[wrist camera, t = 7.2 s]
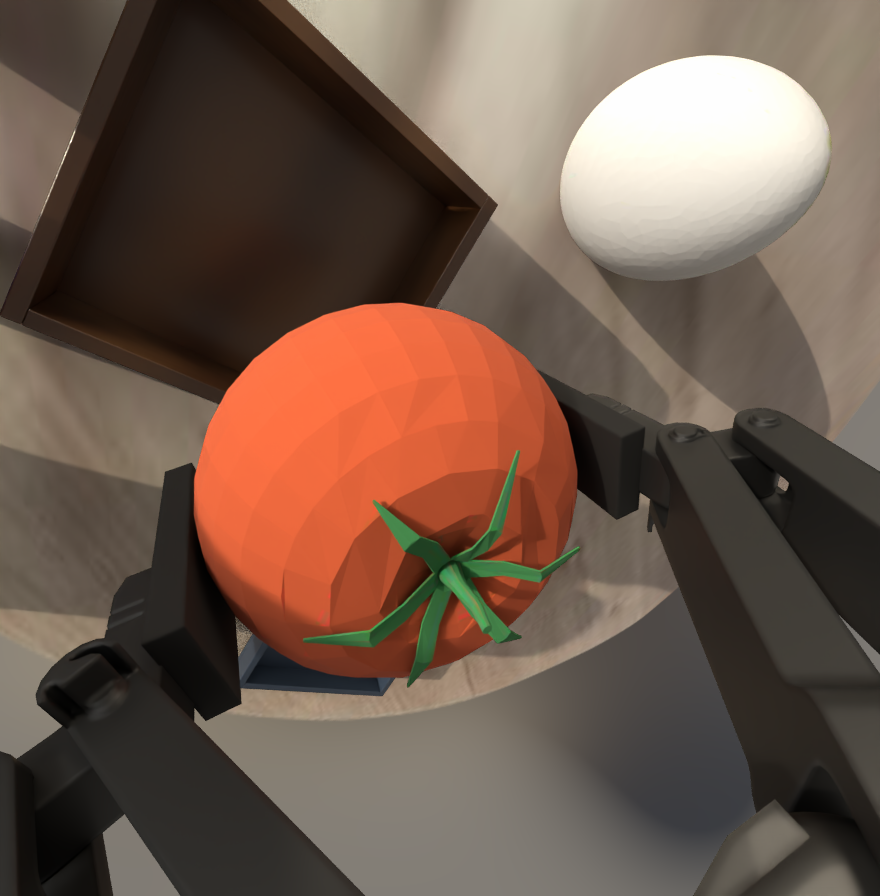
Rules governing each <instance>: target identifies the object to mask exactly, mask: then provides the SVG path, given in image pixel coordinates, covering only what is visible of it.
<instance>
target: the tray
mask: <svg viewBox="0 0 880 896" xmlns="http://www.w3.org/2000/svg"><path fill="white" fill-rule="evenodd" d="M238 662H239V676H240V688H246V689H264V690H281V691H299V692H316V693H334V694H351V695H369V696H383V695H384V693H385V692H386V690H387V689H388V688H389V686H390V685H391V683H392V682H393V680H394V679H395V678H354V677H346V676H339V675H332V674H328V673H324V672H321V671H317V670H314V669H310V668H307V667H304V666H302V665H300V664H298V663H296V662H295V661H293V660H291V659H289V658H287V657H286V656H284V655H282V654H280V653H279V652H277V651H276V650H274V649H273V648H271V647H270V646H268V645H267V644H265V643H264V642H263V641H261V640H260V639H258V638H257V637H256V636H255V635H254V634H252V636H251V637H250V639H249V641H248V642H247V644H246V646H245V647H244V649H243V651H242V652H241V654H240V656H239V657H238Z"/></svg>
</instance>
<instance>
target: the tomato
mask: <svg viewBox="0 0 880 896" xmlns="http://www.w3.org/2000/svg"><path fill="white" fill-rule="evenodd" d="M576 498H577V466H576V461H575V456H574V451H573V446H572V442H571V437H570V433H569V429H568V424H567V421H566V419H565V417H564V415H563V413H562V411H561V409H560V406H559V404H558V402H557V400H556V398H555V396H554V395H553V393H552V392H551V390H550V388H549V387H548V385H547V384H546V382H545V380H544V379H543V378H542V376H541V375H540V374H539V373H538V372H537V370H536V369H535V368H534V367H533V365H532V364H531V363H530V362H529V360H528V359H527V358H526V357H525V356H524V355H523V354H521V353H520V352H519V351H517V350H516V349H515V348H513V347H512V346H511V345H509V344H508V343H507V342H505V341H504V340H503V339H501V338H500V337H499V336H497V335H496V334H495V333H493V332H492V331H491V330H489V329H488V328H487V327H485V326H484V325H482V324H479V323H477V322H475V321H472V320H470V319H467V318H465V317H463V316H460V315H458V314H455V313H453V312H449V311H445V310H440V309H435V308H429V307H423V306H417V305H411V304H405V303H387V304H366V305H360V306H356V307H353V308H349V309H345V310H341V311H337V312H333V313H329V314H326V315H323V316H321V317H319V318H317V319H315V320H313V321H311V322H309V323H307V324H305V325H303V326H301V327H299V328H297V329H295V330H293V331H290V332H288V333H287V334H286V335H284V336H283V337H282V338H280V339H279V340H278V341H276V342H275V343H274V344H273V345H271V346H270V347H269V348H267V349H266V350H265V351H263V352H262V353H261V354H260V355H258V356H257V357H256V358H254V359H253V361H252V362H251V363H250V364H249V365H248V366H247V368H246V369H245V370H244V371H243V372H242V373H241V375H240V376H239V377H238V378H237V379H236V380H235V382H234V383H233V384H232V385H231V386H230V387H229V389H228V390H227V392H226V394H225V395H224V397H223V399H222V401H221V403H220V405H219V407H218V408H217V410H216V412H215V414H214V416H213V418H212V420H211V422H210V423H209V426H208V429H207V433H206V436H205V440H204V444H203V447H202V451H201V455H200V458H199V462H198V466H197V470H196V473H195V477H194V517H195V523H196V528H197V533H198V538H199V541H200V545H201V549H202V553H203V557H204V561H205V564H206V568H207V571H208V573H209V574H210V576H211V578H212V579H213V581H214V583H215V584H216V586H217V588H218V590H219V591H220V593H221V595H222V596H223V598H224V600H225V601H226V602H227V604H228V605H229V607H230V608H231V610H232V611H233V613H234V614H235V616H236V617H237V619H239V620H240V621H241V622H242V623H243V624H244V625H245V626H246V627H247V628H248V629H249V630H250V631H251V632H252V633H253V634H254V635H255V636H256V637H257V638H258V639H260V640H261V641H263V642H264V643H265V644H267V645H268V646H270V647H271V648H273V649H274V650H276V651H277V652H279V653H280V654H282V655H284V656H286V657H287V658H289V659H291V660H293V661H295V662H296V663H298V664H300V665H302V666H304V667H307V668H310V669H314V670H317V671H321V672H324V673H328V674H332V675H339V676H346V677H354V678H403V677H406V676H409V675H410V677H409V680H408V683H407V688H408V687H410V685H411V684H412V683H413V682H414V681H415V680H416V679H417V678H418V677H419V675H420V674H421V673H422V672H423V671H426V670H429V669H432V668H436V667H439V666H442V665H446V664H449V663H452V662H454V661H457V660H459V659H461V658H462V657H464V656H466V655H468V654H469V653H471V652H473V651H474V650H476V649H478V648H479V647H481V646H483V645H485V644H486V643H488V642H490V641H491V640H493V639H494V640H495V641H496V643H497V644H498V643H503V642H507V641H512V640H516V639H520V638H522V636H521V635H518V634H516V633H514V632H513V631H511V630H509V628H508V626H509V625H510V624H512V623H513V622H514V621H515V620H516V619H517V618H518V617H519V616H520V615H521V614H522V613H523V612H524V611H525V610H526V609H527V608H528V607H529V606H530V605H531V604H532V602H533V601H534V600H535V598H536V597H537V596H538V594H539V593H540V592H541V590H542V589H543V588H544V586H545V585H546V584H547V582H548V580H549V578H550V576H551V574H552V572H554V571H555V570H556V569H557V568H559V567H560V566H561V565H562V564H563V563H565V562H566V561H567V560H568V559H570V558H571V557H572V556H573V555H575V554H576V553H577V552H578V551H579V550H580V547H579V546H578V547H576V548H575V549H573V550H571V551H570V552H568V553H567V554H565V555H563V556H562V557H560V555H561V553H562V551H563V549H564V547H565V545H566V543H567V540H568V537H569V532H570V527H571V522H572V517H573V512H574V507H575V503H576ZM559 557H560V558H559Z"/></svg>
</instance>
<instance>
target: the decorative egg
mask: <svg viewBox="0 0 880 896" xmlns="http://www.w3.org/2000/svg"><path fill="white" fill-rule="evenodd" d="M831 151H832V146H831V137H830V132H829V128H828V125H827V122H826V120H825V118H824V116H823V114H822V112H821V110H820V108H819V107H818V105H817V104H816V102H815V101H814V100H813V99H812V97H811V96H810V95H809V94H808V93H807V92H806V91H805V90H804V89H803V88H802V87H801V85H799V84H798V83H797V82H796V81H794V80H793V79H791V78H790V77H789V76H787V75H786V74H784V73H783V72H781V71H779V70H777V69H775V68H773V67H770V66H767V65H765V64H762V63H759V62H756V61H753V60H749V59H744V58H738V57H733V56H712V55H709V56H697V57H690V58H684V59H679V60H675V61H671V62H668V63H665V64H662V65H659V66H656V67H654V68H651V69H649V70H647V71H644V72H642V73H641V74H639V75H637V76H635V77H633V78H631V79H630V80H628V81H627V82H625V83H624V84H623V85H621V86H620V87H618V88H617V89H615V90H614V91H613V92H612V93H610V94H609V95H608V96H607V97H606V98H605V99H604V100H603V101H602V102H601V103H600V104H599V105H598V106H597V107H596V108H595V109H594V110H593V111H592V113H591V114H590V115H589V116H588V118H587V119H586V120H585V122H584V123H583V125H582V126H581V128H580V129H579V131H578V132H577V134H576V136H575V138H574V140H573V142H572V144H571V146H570V148H569V151H568V154H567V157H566V159H565V162H564V166H563V170H562V176H561V184H560V201H561V208H562V213H563V217H564V220H565V223H566V226H567V228H568V230H569V233H570V235H571V237H572V238H573V240H574V241H575V243H576V244H577V245H578V247H579V248H580V249H581V250H582V252H583V253H584V254H586V255H587V256H588V257H589V258H590V259H591V260H592V261H594V262H595V263H596V264H598V265H600V266H601V267H603V268H605V269H607V270H609V271H611V272H614V273H616V274H619V275H622V276H625V277H629V278H634V279H640V280H648V281H669V280H681V279H688V278H693V277H698V276H702V275H705V274H709V273H712V272H716V271H719V270H721V269H724V268H727V267H729V266H732V265H734V264H736V263H738V262H740V261H742V260H744V259H746V258H748V257H750V256H752V255H754V254H756V253H757V252H759V251H760V250H762V249H764V248H765V247H767V246H768V245H770V244H771V243H772V242H774V241H775V240H777V239H778V238H779V237H781V236H782V235H783V234H784V233H785V232H787V231H788V230H789V229H790V228H791V227H792V226H793V225H795V224H796V223H797V221H798V220H799V219H800V218H801V217H802V216H803V215H804V214H805V213H806V212H807V210H808V209H809V208H810V207H811V205H812V204H813V202H814V201H815V199H816V198H817V196H818V195H819V193H820V191H821V189H822V187H823V185H824V183H825V180H826V177H827V174H828V172H829V168H830V162H831Z"/></svg>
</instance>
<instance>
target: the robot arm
mask: <svg viewBox="0 0 880 896" xmlns="http://www.w3.org/2000/svg"><path fill="white" fill-rule="evenodd" d="M536 370H537V369H536ZM537 372H538V373H539V374H540V375H541V376H542V378H543V379H544V380H545V382H546V384H547V385H548V387H549V388H550V390H551V392H552V393H553V395H554V396H555V398H556V400H557V402H558V404H559V406H560V409H561V411H562V413H563V415H564V417H565V419H566V421H567V424H568V429H569V433H570V437H571V442H572V446H573V451H574V456H575V461H576V466H577V489H578V490H580V491H581V492H582V493H583V494H585V495H586V496H587V497H588V498H590V499H591V500H592V501H594V502H595V503H596V504H597V505H599V506H600V507H601V508H602V509H604V510H605V511H606V512H607V513H609V514H610V515H611V516H612V517H614V518H615V519H616V520H618V519H620V518H622V517H624V516H626V515H628V514H630V513H632V512H634V511H636V510H638V506H639V495H640V493H642V494H643V495H645V496H646V497H648V498H649V499H650V505H649V514H648V524H647V530H648V532H652V526H653V524H655V527H656V529H657V532H658V534H659V537H660V539H661V542H662V544H663V547H664V550H665V552H666V555H667V557H668V560H669V562H670V565H671V567H672V570H673V572H674V575H675V578H676V580H677V583H678V585H679V588H680V590H681V593H682V595H683V598H684V601H685V603H686V605H687V608H688V611H689V613H690V616H691V618H692V621H693V624H694V626H695V628H696V631H697V634H698V636H699V639H700V641H701V644H702V646H703V649H704V651H705V654H706V657H707V659H708V662H709V664H710V667H711V669H712V672H713V675H714V677H715V680H716V682H717V685H718V687H719V690H720V692H721V695H722V698H723V700H724V702H725V705H726V708H727V710H728V713H729V715H730V718H731V720H732V723H733V726H734V728H735V731H736V733H737V736H738V738H739V741H740V743H741V746H742V749H743V751H744V754H745V756H746V759H747V762H748V766H749V771H750V778H751V789H752V796H753V801H754V806H755V810H756V814H755V815H754V816H752V817H751V818H750V819H749V820H747V821H746V822H745V823H743V824H742V825H741V826H740V827H738V828H737V829H736V830H734V831H733V832H732V833H731V834H729V835H728V836H727V837H726V839H725V841H724V842H723V844H722V846H721V848H720V849H719V851H718V853H717V855H716V856H715V858H714V860H713V862H712V864H711V865H710V867H709V869H708V870H707V872H706V874H705V876H704V878H703V880H702V881H701V883H700V885H699V886H698V888H697V890H696V892H695V893H694V895H693V896H880V673H879V672H878V670H877V669H876V668H875V666H874V665H873V663H872V662H871V661H870V659H869V658H868V656H867V655H866V653H865V652H864V650H863V649H862V648H861V646H860V645H859V643H858V642H857V641H856V639H855V638H854V636H853V635H852V633H851V632H850V630H849V629H848V628H847V626H846V625H845V624H844V622H843V621H842V619H841V618H840V616H841V617H842V618H843V619H844V620H845V621H846V622H847V623H848V624H849V625H850V626H851V627H852V628H853V629H854V630H855V631H856V632H857V633H858V634H859V635H860V636H861V637H862V638H863V639H864V640H865V641H866V642H867V643H868V644H870V646H871V647H873V648H874V649H875V650H876V651H877V652H878V653H879V654H880V471H878V470H876V469H875V468H873V467H872V466H870V465H868V464H867V463H865V462H863V461H862V460H860V459H858V458H857V457H855V456H853V455H852V454H850V453H848V452H847V451H845V450H844V449H842V448H840V447H839V446H837V445H835V444H834V443H832V442H831V441H829V440H827V439H826V438H824V437H822V436H821V435H819V434H817V433H816V432H814V431H813V430H811V429H809V428H808V427H806V426H804V425H803V424H801V423H799V422H798V421H796V420H795V419H793V418H791V417H790V416H788V415H786V414H783V413H781V412H779V411H774V410H771V409H767V408H763V409H762V408H755V409H746V410H743V411H741V412H739V413H738V414H737V415H736V416H735V418H734V423H733V428H731V429H725V430H720V431H714V432H709V431H708V430H707V429H706V428H703V427H701V426H699V425H695V424H690V423H672V424H667V425H663V424H661V423H659V422H657V421H655V420H653V419H651V418H649V417H647V416H645V415H643V414H641V413H639V412H637V411H635V410H631V408H629V407H627V406H625V405H621V403H619V402H617V401H615V400H613V399H611V398H609V397H605V396H601V395H596V394H590V395H587V396H586V395H584V394H582V393H581V392H579V391H577V390H575V389H573V388H571V387H569V386H567V385H565V384H564V383H562V382H560V381H558V380H556V379H554V378H552V377H550V376H548V375H547V374H545V373H543V372H541V371H539V370H537ZM195 473H196V469H195V468H194V466H193V464H192V463H189V464H187V465H184V466H181V467H178V468H175V469H172V470H169V471H166V472H165V476H164V483H163V490H162V497H161V505H160V512H159V519H158V526H157V533H156V540H155V547H154V554H153V561H152V568H149V569H147V570H144V571H142V572H139V573H137V574H134V575H132V576H129V577H127V578H126V579H125V580H124V582H123V583H122V585H121V586H120V588H119V589H118V591H117V592H116V594H115V595H114V598H113V602H112V607H111V611H110V613H111V616H109V620H108V625H107V627H108V630H106V634H105V638H102V639H95V640H93V641H90V642H87V643H85V644H82V645H80V646H79V647H77V648H76V649H74V650H72V651H71V652H69V653H68V654H66V655H65V656H64V657H63V658H61V659H60V660H59V661H58V662H57V663H56V664H55V665H54V666H52V667H51V669H50V670H49V671H48V673H47V674H46V675H45V677H44V678H43V679H42V680H41V682H40V685H39V687H38V690H37V693H36V700H37V705H38V706H40V707H41V708H42V709H43V710H44V711H46V712H47V713H48V714H49V715H50V716H51V717H53V718H54V719H55V720H56V721H57V722H59V723H60V724H61V725H62V727H61V728H59V729H58V730H57V731H56V732H54V733H53V734H52V735H50V736H49V737H47V738H46V739H45V740H43V741H42V742H40V743H39V744H37V745H36V746H35V747H33V748H32V749H30V750H29V751H27V752H26V753H25V754H23V755H22V756H20V757H19V758H17V759H16V758H14V757H13V756H11V755H10V754H6V753H4V752H0V896H113V892H112V886H111V881H110V874H109V868H108V862H107V857H106V850H105V845H104V839H103V832H104V831H105V830H106V829H107V828H109V827H110V826H111V825H112V824H113V823H115V821H117V820H118V819H119V818H121V817H122V816H123V815H124V814H125V815H126V817H127V818H128V820H129V821H130V823H131V824H132V826H133V827H134V828H135V830H136V831H137V833H138V834H139V836H140V837H141V839H142V840H143V842H144V843H145V845H146V846H147V847H148V849H149V850H150V852H151V853H152V855H153V856H154V858H155V859H156V861H157V862H158V863H159V865H160V867H161V868H162V869H163V871H164V872H165V874H166V875H167V877H168V878H169V880H170V881H171V883H172V884H173V885H174V887H175V888H176V890H177V891H178V893H179V894H180V896H365V895H364V894H363V893H362V892H361V891H360V890H359V889H358V888H357V887H356V886H355V885H354V884H353V883H352V882H351V881H350V880H349V879H348V878H347V877H346V876H345V875H344V874H343V873H342V872H341V871H340V870H339V869H338V868H337V867H336V866H335V865H334V864H333V863H332V862H331V861H330V860H329V859H328V857H327V856H325V855H324V853H323V852H322V851H321V850H320V849H319V848H318V847H317V846H316V845H315V844H314V843H313V842H312V841H311V840H310V839H309V838H308V837H307V836H306V835H305V834H304V833H303V832H302V831H301V830H300V829H299V828H298V827H297V826H296V825H295V824H294V823H293V822H292V821H291V820H290V819H289V818H288V817H287V816H286V815H285V814H284V813H283V812H282V811H281V810H280V809H279V808H278V807H277V806H276V805H275V804H274V803H273V802H272V801H271V799H269V797H268V796H267V795H266V794H265V793H264V792H263V791H261V789H260V788H259V787H258V786H257V785H256V784H255V783H254V782H253V781H252V780H251V779H250V778H249V777H248V776H247V775H246V774H245V773H244V772H243V771H242V770H241V769H240V768H239V767H238V766H237V765H236V764H235V763H234V762H233V761H232V760H231V759H230V758H229V757H228V756H227V755H226V754H225V753H224V752H223V751H222V750H221V749H220V748H219V747H218V746H217V745H216V744H215V743H214V742H213V741H212V740H211V739H210V738H209V736H207V735H206V733H205V732H204V731H202V729H201V728H200V727H199V726H198V725H197V724H196V723H195V722H194V708H195V709H196V710H197V711H198V712H199V714H200V715H201V716H202V717H203V718H204V719H205V721H207V720H209V719H211V718H213V717H215V716H217V715H219V714H221V713H223V712H225V711H227V710H229V709H231V708H233V707H235V706H238V705H240V704H242V703H241V689H240V676H239V662H238V648H237V635H236V621H235V614H234V613H233V611H232V610H231V608H230V607H229V605H228V604H227V602H226V601H225V600H224V598H223V596H222V595H221V593H220V591H219V590H218V588H217V586H216V584H215V583H214V581H213V579H212V578H211V576H210V574H209V573H208V571H207V568H206V564H205V561H204V557H203V553H202V549H201V545H200V541H199V538H198V533H197V528H196V523H195V517H194V477H195ZM780 476H782V477H783V478H784V479H786V481H787V482H788V483H789V486H788V489H787V491H784V490H782V489H781V488H780V487H778V486H777V485H778V481H779V478H780ZM838 614H839V615H840V616H839V615H838Z"/></svg>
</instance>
